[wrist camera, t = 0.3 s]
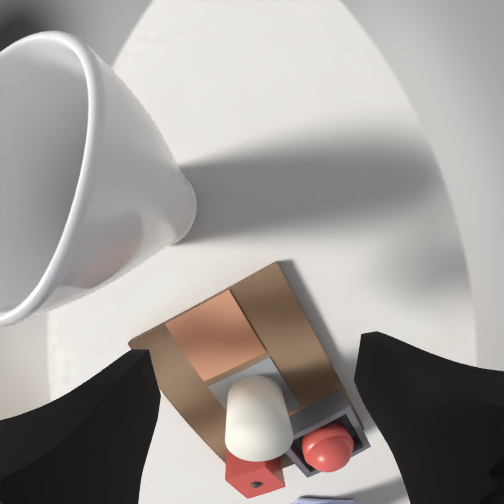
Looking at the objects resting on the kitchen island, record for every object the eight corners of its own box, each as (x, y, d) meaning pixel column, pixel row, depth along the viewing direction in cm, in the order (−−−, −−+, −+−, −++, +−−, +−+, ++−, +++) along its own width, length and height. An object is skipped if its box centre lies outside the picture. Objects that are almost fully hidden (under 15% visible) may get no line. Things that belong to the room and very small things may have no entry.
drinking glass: (230, 214, 19) (191, 160, 4) (154, 278, 19) (-9, 381, 4) (169, 140, 18) (50, -7, 3) (99, 204, 18) (-83, 180, 3)
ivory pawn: (268, 422, 19) (274, 466, 14) (219, 407, 19) (215, 451, 14) (291, 384, 19) (305, 425, 14) (240, 367, 18) (241, 408, 14)
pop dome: (353, 439, 18) (366, 465, 15) (311, 459, 18) (320, 487, 15) (338, 413, 18) (352, 440, 14) (292, 435, 18) (300, 465, 14)
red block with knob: (280, 460, 20) (286, 489, 16) (246, 472, 20) (247, 501, 16) (262, 439, 19) (265, 470, 16) (226, 452, 19) (225, 483, 16)
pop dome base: (361, 430, 20) (371, 446, 17) (302, 459, 20) (307, 477, 17) (339, 389, 19) (350, 405, 17) (273, 423, 19) (276, 442, 17)
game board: (361, 424, 20) (365, 429, 20) (244, 475, 20) (245, 482, 20) (275, 261, 19) (277, 263, 18) (131, 339, 19) (127, 344, 18)
